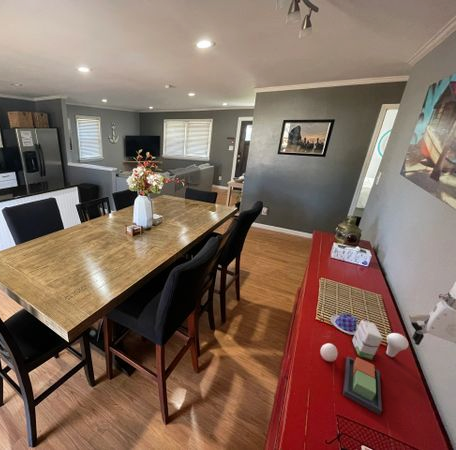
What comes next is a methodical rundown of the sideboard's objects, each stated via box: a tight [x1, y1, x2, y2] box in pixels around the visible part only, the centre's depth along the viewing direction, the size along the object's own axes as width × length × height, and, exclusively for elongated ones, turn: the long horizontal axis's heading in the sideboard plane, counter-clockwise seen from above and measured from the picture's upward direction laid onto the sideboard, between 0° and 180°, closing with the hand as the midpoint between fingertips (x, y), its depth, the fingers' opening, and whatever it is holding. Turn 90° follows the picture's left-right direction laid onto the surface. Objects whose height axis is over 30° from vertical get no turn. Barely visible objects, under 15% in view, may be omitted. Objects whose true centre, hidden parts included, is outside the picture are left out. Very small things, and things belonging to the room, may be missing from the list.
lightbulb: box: [385, 332, 410, 358], centre depth 95 cm, size 6×6×11 cm
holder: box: [342, 356, 383, 415], centre depth 86 cm, size 10×18×2 cm, turn 141°
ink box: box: [351, 319, 384, 361], centre depth 98 cm, size 9×5×12 cm, turn 157°
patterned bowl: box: [329, 312, 359, 336], centre depth 111 cm, size 12×12×5 cm
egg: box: [319, 342, 339, 362], centre depth 94 cm, size 5×5×8 cm
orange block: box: [353, 356, 376, 379], centre depth 88 cm, size 5×6×4 cm
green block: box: [352, 370, 376, 401], centre depth 83 cm, size 5×6×4 cm
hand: (438, 350), depth 72 cm, fingers open, 9 cm apart
